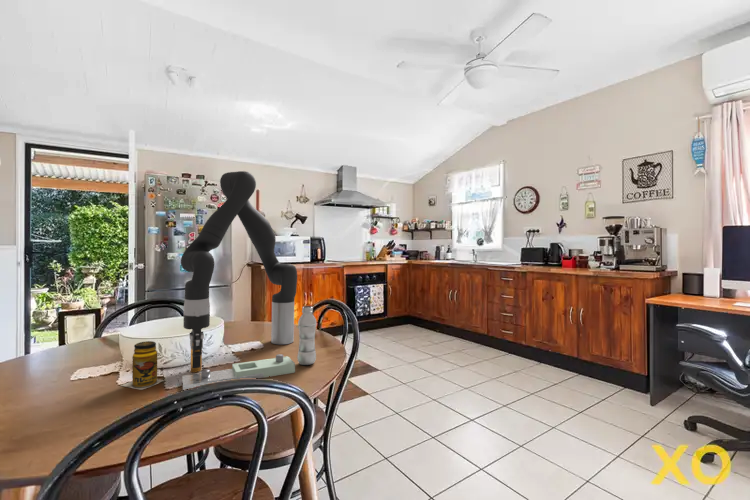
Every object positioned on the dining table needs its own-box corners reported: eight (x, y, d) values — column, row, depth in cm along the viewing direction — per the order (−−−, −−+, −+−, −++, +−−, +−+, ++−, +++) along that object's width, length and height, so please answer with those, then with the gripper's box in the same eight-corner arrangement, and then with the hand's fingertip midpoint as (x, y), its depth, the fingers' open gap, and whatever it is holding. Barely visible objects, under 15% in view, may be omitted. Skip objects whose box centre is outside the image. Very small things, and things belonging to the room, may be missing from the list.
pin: (190, 369, 114) (190, 342, 114) (201, 368, 116) (201, 341, 115) (190, 373, 111) (191, 344, 111) (201, 371, 113) (202, 343, 113)
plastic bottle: (318, 361, 126) (319, 305, 125) (312, 367, 119) (314, 309, 119) (300, 360, 126) (301, 304, 126) (294, 366, 119) (295, 308, 119)
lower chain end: (182, 380, 105) (182, 369, 105) (258, 369, 116) (258, 358, 116) (182, 390, 98) (183, 378, 98) (263, 377, 109) (263, 366, 109)
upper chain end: (232, 373, 112) (232, 357, 112) (287, 364, 121) (288, 350, 121) (236, 382, 105) (236, 365, 105) (294, 372, 114) (295, 357, 114)
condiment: (142, 390, 98) (142, 347, 98) (120, 386, 101) (120, 344, 101) (165, 381, 105) (165, 341, 105) (143, 377, 108) (144, 338, 107)
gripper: (183, 309, 117) (182, 361, 118) (184, 317, 105) (183, 375, 105) (207, 308, 121) (207, 357, 121) (211, 315, 109) (211, 371, 109)
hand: (196, 365), depth 113 cm, fingers closed on pin, 3 cm apart
